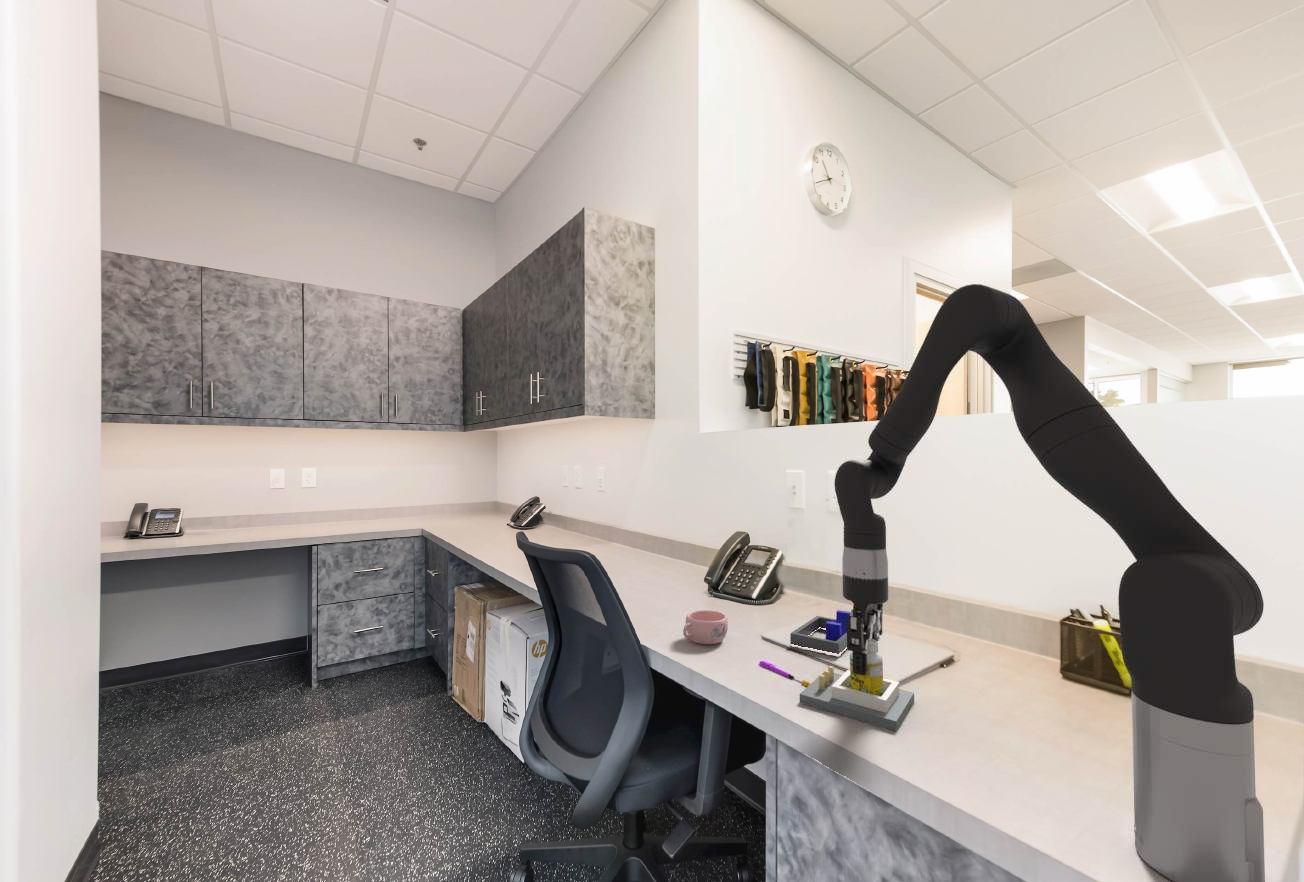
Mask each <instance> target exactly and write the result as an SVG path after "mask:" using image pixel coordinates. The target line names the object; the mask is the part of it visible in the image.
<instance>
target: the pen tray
mask: <svg viewBox="0 0 1304 882" xmlns="http://www.w3.org/2000/svg"><path fill="white" fill-rule="evenodd" d="M827 621H829V622H831V621H833V622H836V618H831V617H825V616H820V615H816V616H815V617H813V618H812V619H810V620H808V621H807V622H805V623H804V624H802V625H801V626H799V627H798V628H796V629H795V630H793V631H791V632H790V635H789V636H790V643H789V644H794V645H798V646H801V647H808V648H813V649H817V650H822V651H827V652H832V653H837V654H839V653H840V652H842V651H843V650H844V649H845V648H846V647H847V632H846V633H845V634H844V635H843V636H842V637H840V638H839V639H838V640H837V641H832V640H827V639H826V638H821V637H817V636H813V635H811V636H808V635H810V634H811V633H812V632H814V631H815V630H817V629H818V628H819V627H821V628H826V623H827Z"/></svg>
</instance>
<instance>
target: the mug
mask: <svg viewBox="0 0 1304 882" xmlns="http://www.w3.org/2000/svg"><path fill="white" fill-rule="evenodd" d="M728 623H729V621H728V617H727V615H725V614H724V613H723V612H721V611H716V610H709V609H708V610H707V609H706V610H704V609H703V610H702V609H701V610H694V611H691V612H689V613H688V614H687V615H686V617H685V625H684V627H683V630H682V633H683V634H682V635H683V636H684V637H685V639H690V640H691V641H692V642H694V643H696V644H697V643H698V644H701V645H714V644H715V645H716V644H719V643H721V642H722V641H724V639H725V638H726V637H727V633H728V629H729V624H728Z"/></svg>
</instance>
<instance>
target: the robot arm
mask: <svg viewBox="0 0 1304 882" xmlns="http://www.w3.org/2000/svg"><path fill="white" fill-rule="evenodd" d="M941 304H942V305H940V308H939V309H938V311H937V313H936V315H935V316H934V319H933V320H932V323H931V324H930V327H929V329H928V332H927V333H926V336H925V338H924V340H923V342H922V345H921V346H920V349H919V350H918V352H917V355H916V357H915V359H914V360H913V363H912V365H911V367H910V368H909V369H910V370H909V371H908V374H907V375H906V378H905V380H904V381H903V383H902V385H901V387H900V389H899V391H898V392H897V393H896V396H895V397H894V399H893V400H892V402H891V403H890V405H889V406H888V407H887V408H886V411H885V412H884V414H883V415H882V416H881V418H880V419H879V421H878V422H877V424H875V427H874V428H873V429H872V431H871V433H870V435H869V437H868V439H867V440H868V443H867V444H868V446H869V448H870V449H871V453H870V455H869V456H868V458H867V459H850V460H846V461H844V462H843V463H842V464H840V465H839V467H838V468H837V470H836V473H835V476H834V492H835V496H836V500H837V504H838V508H839V512H840V516H841V517H842V521H843V549H842V550H843V551H842V565H841V566H842V569H841V570H842V597H843V598H844V599H845V600H847V601H850V602H851V603H853V606H852V609H851V610H850V612H851V615H850V616H848V615H847V617H846V630H847V649H848V650H847V651H850V652H851V651H853V672H854V673H855V674H858V675H862V676H865V675H866V674H867V651H868V650H867V648H868V642H869V641H870V640H871V639H875V640H876V641H877V642H878V643H879V642H880V640H881V636H882V635H883V614H884V613H883V608H884V604H886V602H888V601H889V560H888V554H887V524H886V521H885V518H884V517H883V515H880V514H878V513H875V511H874V507H873V504H872V500H874V499H875V500H877V499H882V498H883V497H885V496H886V495H888V493H890V492H891V491H892V490H893V489H894V487H895V486H896V484H897V483H898V481H899V478H900V476H901V475H902V471H903V469H904V467H905V465H906V462H907V459H908V457H909V456H910V454H911V453H912V452H913V451H914V449H915V448H916V446H917V445H918V444H919V442H920V441H921V440H922V439H923V438H924V436H925V434H926V433H927V432H928V430H929V429H930V427H931V425H932V423H933V422H934V419H935V416H936V414H937V411H938V407H939V402H940V398H941V394H942V392H943V388H944V385H945V384H946V382H947V380H948V378H949V376H950V374H951V372H952V371H953V369H954V368H955V367H956V366H957V364H958V363H959V361H960V360H962V358H963V357H964V356H965V355H966V354H967V353H968V352H969V351H970V352H972V353H973V352H974V353H976V354H977V355H979V356H980V357H981V358H982V359H983V360H984V361H985V363H987V364H988V365H989V366H990V368H992V370H993V371H994V372H995V374H996V375H997V376H998V377H999V378H1000V380H1001V381H1002V383H1003V384H1004V386H1005V388H1006V390H1007V392H1008V395H1009V398H1010V402H1011V407H1012V413H1013V418H1014V421H1015V424H1016V427H1017V429H1018V432H1019V433H1020V435H1021V437H1022V439H1023V440H1024V442H1025V443H1026V445H1027V446H1028V447H1029V449H1030V451H1031V452H1032V454H1033V455H1034V456H1035V458H1036V460H1037V461H1038V462H1039V464H1041V466H1042V468H1043V469H1044V470H1045V471H1046V473H1047V474H1048V475H1049V476H1050V477H1051V478H1052V479H1053V481H1055V482H1057V484H1059V485H1060V486H1061V487H1062V488H1063V489H1064V490H1066V491H1067V492H1069V494H1071V495H1072V496H1073V497H1074V498H1075V499H1077V500H1078V501H1080V503H1082V504H1083V505H1085V506H1086V507H1087V508H1088V509H1090V510H1091V511H1093V512H1094V513H1095V514H1096V515H1097V516H1099V517H1100V518H1101V519H1103V521H1105V522H1106V523H1107V524H1108V526H1110V527H1111V528H1112V530H1113V531H1114V532H1115V533H1116V534H1117V535H1118V536H1119V538H1120V539H1121V540H1122V542H1123V543H1124V544H1125V546H1126V547H1127V548H1128V550H1129V551H1130V553H1131V554H1132V556H1133V558H1134V559H1135V561H1133V563H1131V564H1130V565H1129V566H1128V567H1127V568H1126V570H1125V571H1124V572H1123V574H1122V576H1121V578H1120V579H1121V580H1120V582H1119V587H1118V596H1117V597H1118V601H1117V602H1118V604H1117V605H1118V618H1119V632H1120V633H1119V634H1120V647H1121V656H1122V661H1123V663H1124V666H1125V669H1126V671H1127V672H1128V675H1129V677H1130V681H1131V717H1132V718H1131V719H1132V720H1131V721H1132V722H1131V724H1132V730H1131V731H1132V765H1133V766H1132V767H1133V810H1134V811H1133V812H1134V813H1133V814H1134V822H1133V823H1134V824H1133V831H1134V847H1135V850H1136V852H1137V854H1138V855H1139V856H1140V858H1141V859H1142V860H1143V861H1144V862H1145V863H1146V864H1147V865H1148V866H1150V867H1151V868H1152V869H1154V870H1155V871H1156V872H1157V873H1158V874H1159V873H1160V875H1162V876H1164V877H1165V878H1167V879H1169V880H1171V881H1172V882H1266V867H1265V836H1264V835H1265V834H1264V832H1265V830H1264V826H1265V825H1264V808H1263V806H1262V803H1260V801H1259V799H1258V797H1257V795H1256V794H1257V793H1256V792H1257V791H1256V766H1255V765H1256V762H1255V761H1256V759H1255V757H1256V756H1255V726H1254V724H1255V723H1254V722H1255V721H1254V718H1255V712H1254V711H1255V710H1254V696H1253V695H1252V693H1251V690H1250V689H1249V688H1248V687H1247V686H1246V685H1244V684H1243V682H1240V680H1239V679H1238V676H1237V670H1236V658H1235V657H1236V656H1235V644H1234V643H1235V640H1234V636H1237V635H1241V634H1244V633H1246V632H1249V630H1252V629H1253V628H1254V627H1256V625H1257V624H1258V623H1259V621H1260V620H1261V618H1262V616H1263V613H1264V606H1265V605H1264V599H1263V594H1262V591H1261V589H1260V587H1259V584H1257V581H1256V580H1255V579H1254V577H1253V576H1252V574H1251V573H1250V572H1249V571H1248V570H1247V569H1246V568H1245V566H1243V565H1242V564H1241V563H1240V562H1239V561H1238V559H1236V558H1235V557H1234V556H1233V555H1232V553H1230V552H1229V551H1228V550H1227V549H1226V548H1225V547H1224V546H1223V545H1222V544H1221V543H1220V542H1219V541H1218V540H1217V538H1215V537H1214V536H1213V535H1212V534H1211V533H1210V532H1209V531H1208V530H1206V528H1205V527H1204V526H1203V525H1202V524H1200V523H1199V522H1198V520H1197V519H1195V518H1194V516H1192V515H1191V513H1189V511H1188V510H1187V509H1186V508H1185V507H1184V506H1183V504H1181V502H1180V501H1179V500H1178V499H1177V498H1176V497H1175V496H1174V494H1173V493H1172V491H1171V490H1169V488H1168V487H1167V485H1166V484H1165V483H1164V481H1163V480H1162V479H1161V477H1160V476H1159V475H1158V473H1157V472H1156V471H1155V469H1153V467H1152V466H1151V464H1150V463H1149V462H1148V461H1147V460H1146V458H1145V457H1144V456H1143V455H1142V453H1141V452H1140V450H1138V448H1137V447H1136V446H1135V445H1134V444H1133V442H1132V441H1131V440H1130V438H1129V436H1128V435H1126V433H1125V431H1123V429H1122V428H1121V426H1120V425H1119V424H1118V422H1116V421H1115V419H1114V418H1113V416H1111V414H1110V413H1109V412H1108V411H1107V409H1106V408H1105V407H1104V406H1103V404H1102V403H1100V401H1099V400H1098V399H1097V398H1096V397H1095V396H1094V395H1093V394H1092V392H1090V391H1089V390H1088V388H1087V387H1086V386H1085V385H1084V384H1083V383H1082V382H1081V381H1080V379H1079V378H1078V377H1077V376H1076V375H1075V373H1073V372H1072V371H1071V369H1069V367H1068V366H1066V364H1064V363H1063V362H1062V360H1060V359H1059V357H1058V356H1057V354H1056V353H1055V352H1054V351H1053V350H1052V347H1050V345H1049V344H1048V343H1047V340H1046V338H1045V337H1044V336H1043V334H1042V332H1041V331H1040V330H1039V327H1038V326H1037V325H1036V323H1035V321H1034V319H1033V318H1032V316H1031V315H1030V313H1029V311H1028V309H1027V308H1026V307H1025V305H1024V304H1023V303H1022V302H1021V301H1020V300H1019V299H1018V298H1017V297H1015V296H1013V295H1012V294H1010V293H1007V292H1005V291H1002V290H1000V289H997V288H994V287H990V286H988V285H985V284H980V283H971V284H966V285H963V286H961V287H958V288H957V289H956V290H954V291H953V292H952V293H951V294H949V296H948V297H946V299H945V300H944V301H943V303H941ZM857 639H858V640H859V645H857V644H856V640H857ZM877 652H878V653H879V649H878V650H877Z"/></svg>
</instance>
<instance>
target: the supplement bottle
mask: <svg viewBox="0 0 1304 882" xmlns="http://www.w3.org/2000/svg"><path fill="white" fill-rule="evenodd" d="M856 644H857V645H859V640H858V639H857V640H856ZM867 650H868V651H867V674H866V675H865V676H862V675H858V674H855V673H854V672H853V651H850V654H849V665H850V666H849V667H850V668H849V670H850V681H851V689H854V690H858V691H861V692H865V693H869V694H873V695H877V696H882V695H883V678H884V668H883V666H884V665H883V664H884V663H883V657H882V654H881V653H880V652H879V642H878V641H876V640H875V639H871V640H870V641H869V642H868V648H867ZM877 650H878V652H877Z"/></svg>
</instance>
